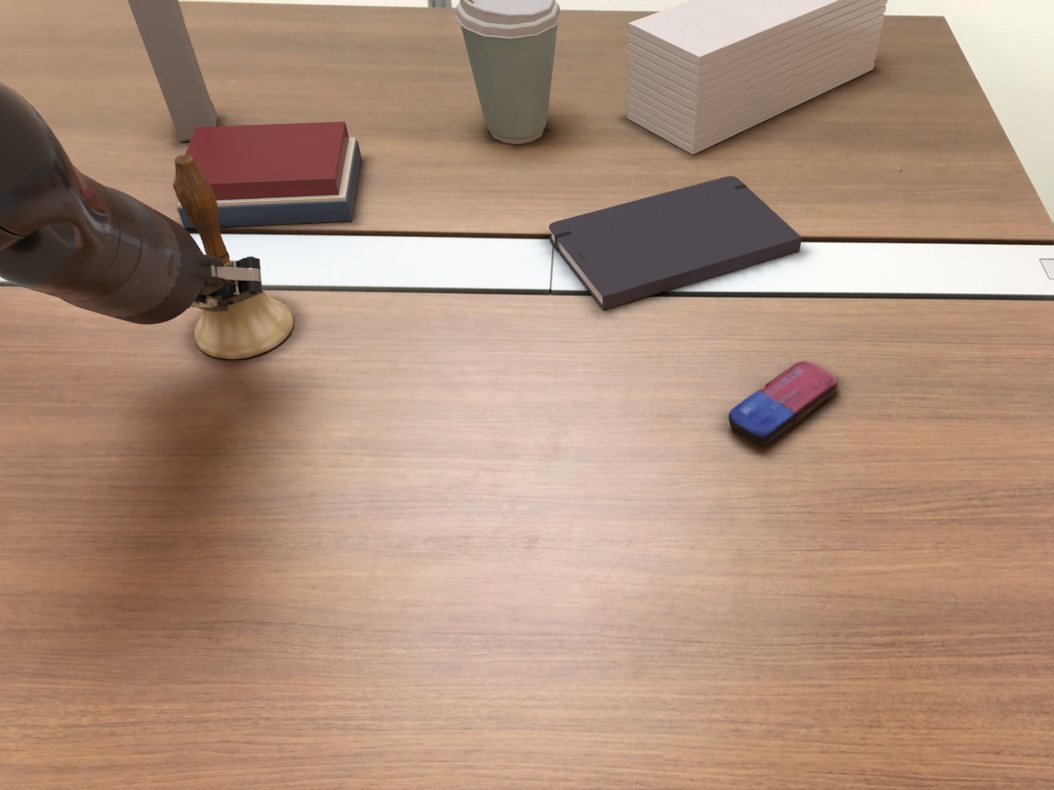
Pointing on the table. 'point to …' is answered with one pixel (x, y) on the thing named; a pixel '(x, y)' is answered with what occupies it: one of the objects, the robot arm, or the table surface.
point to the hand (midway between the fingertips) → (217, 298)
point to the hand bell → (252, 319)
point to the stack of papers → (742, 62)
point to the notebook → (671, 240)
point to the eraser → (783, 402)
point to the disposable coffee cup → (511, 62)
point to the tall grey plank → (174, 64)
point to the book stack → (278, 172)
